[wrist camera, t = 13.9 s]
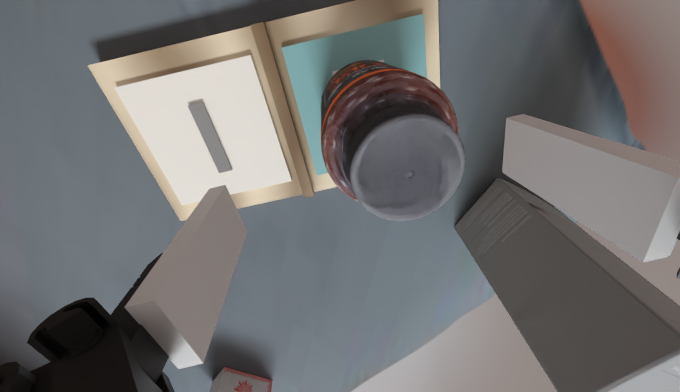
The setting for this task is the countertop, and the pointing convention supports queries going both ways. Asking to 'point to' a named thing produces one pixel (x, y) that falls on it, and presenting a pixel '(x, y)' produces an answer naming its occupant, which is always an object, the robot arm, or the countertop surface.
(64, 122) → the countertop surface
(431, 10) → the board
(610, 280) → the skincare box
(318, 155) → the teal pad
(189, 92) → the cream pad
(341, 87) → the supplement bottle
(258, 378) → the white product box
